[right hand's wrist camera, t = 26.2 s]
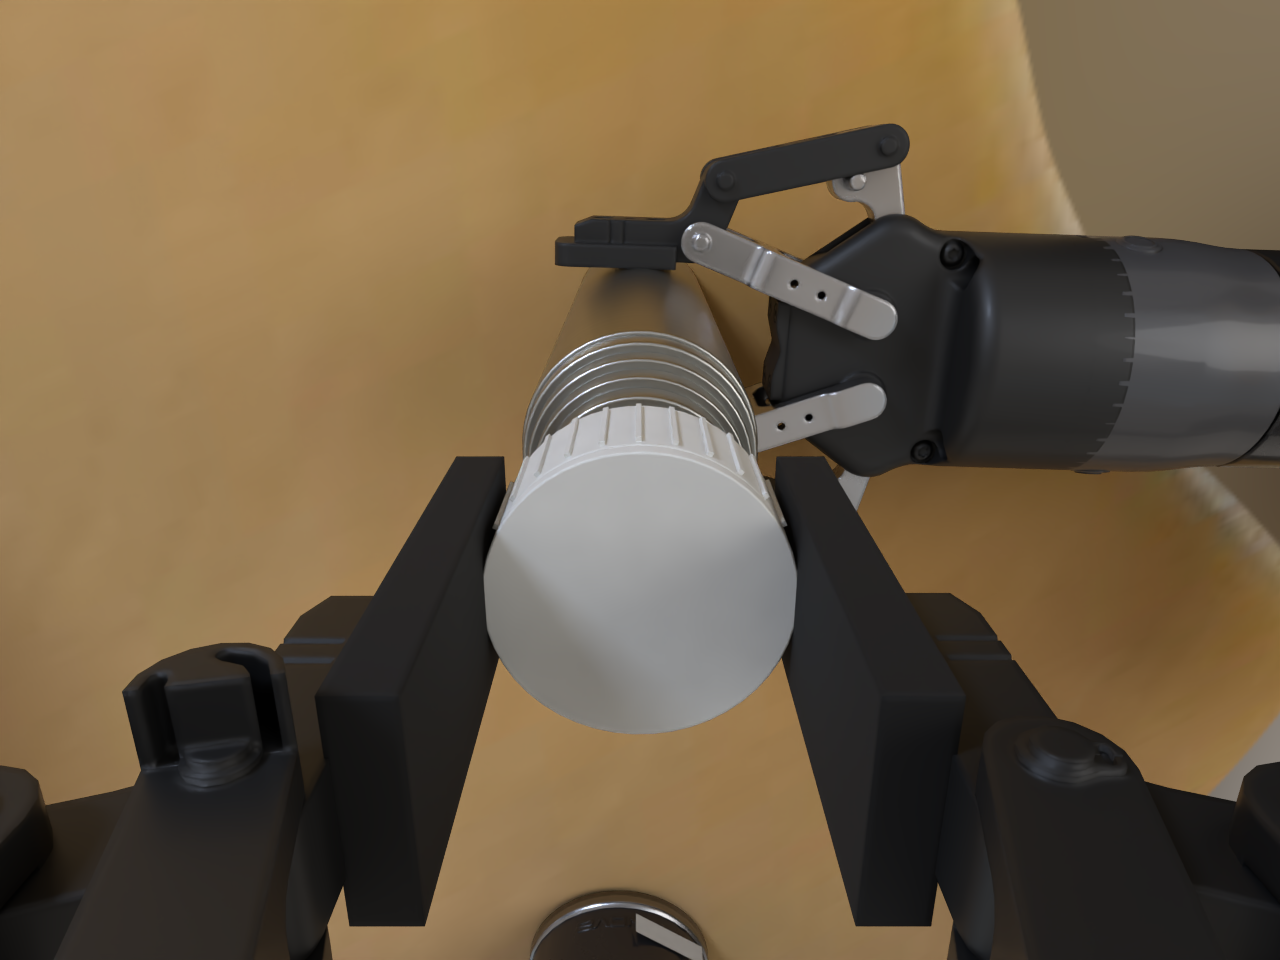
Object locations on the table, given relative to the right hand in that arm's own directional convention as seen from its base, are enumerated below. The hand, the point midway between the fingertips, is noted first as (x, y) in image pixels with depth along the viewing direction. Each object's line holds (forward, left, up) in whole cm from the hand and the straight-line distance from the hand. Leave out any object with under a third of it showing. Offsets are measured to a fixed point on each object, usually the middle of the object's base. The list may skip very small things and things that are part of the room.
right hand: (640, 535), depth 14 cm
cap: (0, 0, +2) cm, 2 cm away
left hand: (-2, +2, -15) cm, 15 cm away
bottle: (0, 0, -22) cm, 22 cm away
